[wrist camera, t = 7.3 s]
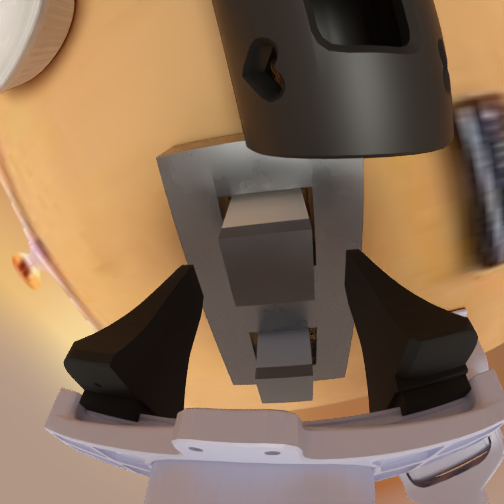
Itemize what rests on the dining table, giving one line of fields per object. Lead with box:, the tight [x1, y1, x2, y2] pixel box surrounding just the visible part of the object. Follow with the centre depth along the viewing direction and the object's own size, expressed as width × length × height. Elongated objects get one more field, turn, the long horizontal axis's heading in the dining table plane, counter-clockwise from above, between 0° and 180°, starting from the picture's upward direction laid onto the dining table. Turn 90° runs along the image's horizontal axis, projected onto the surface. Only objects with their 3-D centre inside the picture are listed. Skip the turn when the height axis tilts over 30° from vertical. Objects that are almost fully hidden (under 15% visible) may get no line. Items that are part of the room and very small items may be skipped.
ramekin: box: [0, 0, 74, 94], centre depth 8 cm, size 11×11×5 cm
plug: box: [218, 188, 315, 307], centre depth 16 cm, size 4×4×7 cm
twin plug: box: [255, 328, 313, 403], centre depth 22 cm, size 4×4×7 cm
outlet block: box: [156, 133, 364, 385], centre depth 20 cm, size 11×22×3 cm, turn 9°
